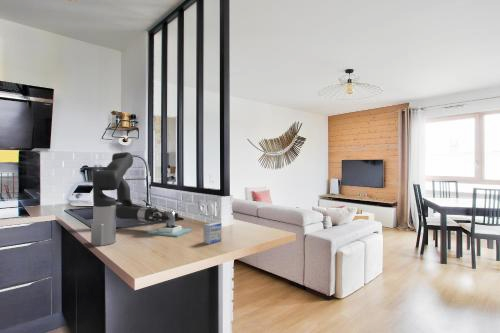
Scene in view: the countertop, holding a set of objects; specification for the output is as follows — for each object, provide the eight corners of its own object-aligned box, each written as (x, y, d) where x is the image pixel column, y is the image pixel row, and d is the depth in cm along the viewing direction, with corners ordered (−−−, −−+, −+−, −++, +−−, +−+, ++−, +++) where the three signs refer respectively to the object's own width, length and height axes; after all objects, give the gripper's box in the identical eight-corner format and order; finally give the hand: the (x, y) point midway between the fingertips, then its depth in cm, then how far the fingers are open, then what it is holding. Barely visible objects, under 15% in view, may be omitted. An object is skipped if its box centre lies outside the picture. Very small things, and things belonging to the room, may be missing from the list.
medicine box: (209, 244, 128) (210, 225, 128) (203, 242, 131) (203, 224, 131) (221, 241, 134) (221, 223, 134) (214, 239, 137) (215, 221, 137)
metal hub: (171, 231, 147) (171, 212, 147) (164, 230, 148) (164, 212, 148) (176, 229, 151) (176, 211, 151) (169, 229, 152) (169, 210, 152)
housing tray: (177, 237, 140) (177, 231, 140) (147, 233, 146) (147, 228, 146) (191, 230, 153) (192, 225, 153) (164, 228, 159) (164, 222, 159)
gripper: (139, 209, 147) (165, 211, 142) (156, 206, 161) (181, 207, 156) (139, 223, 147) (165, 226, 142) (156, 219, 161) (180, 221, 156)
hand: (173, 216), depth 149 cm, fingers open, 8 cm apart
